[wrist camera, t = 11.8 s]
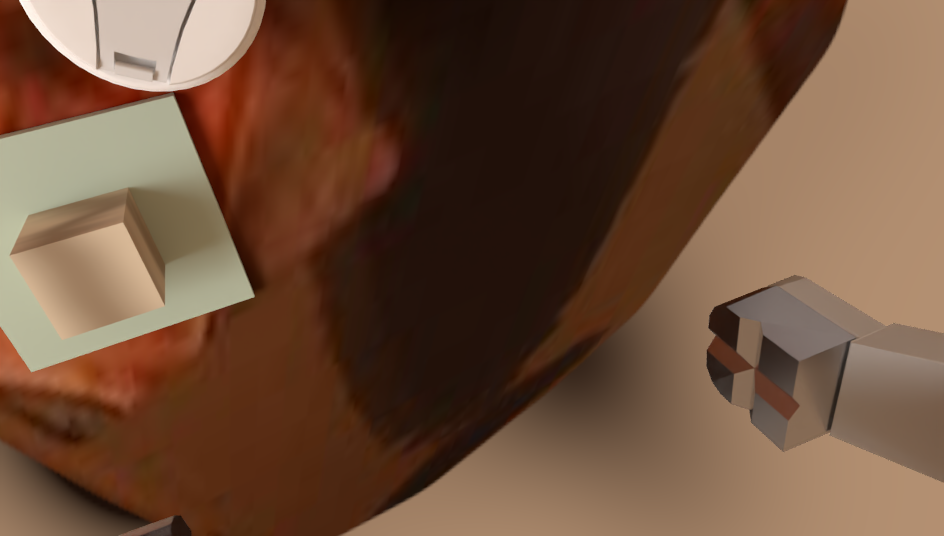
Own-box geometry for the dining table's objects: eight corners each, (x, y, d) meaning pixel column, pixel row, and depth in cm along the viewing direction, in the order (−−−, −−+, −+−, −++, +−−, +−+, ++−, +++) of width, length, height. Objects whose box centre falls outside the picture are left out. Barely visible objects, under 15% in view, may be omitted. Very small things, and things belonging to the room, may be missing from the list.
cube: (128, 187, 35) (123, 222, 31) (165, 264, 38) (164, 306, 34) (28, 215, 34) (9, 255, 30) (73, 293, 36) (61, 340, 32)
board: (173, 92, 35) (173, 95, 34) (253, 290, 41) (254, 296, 41) (-103, 160, 31) (-109, 165, 31) (33, 364, 38) (31, 372, 37)
